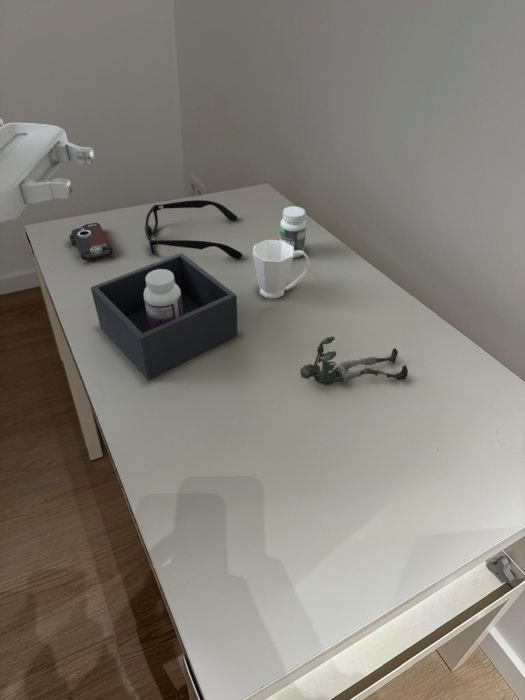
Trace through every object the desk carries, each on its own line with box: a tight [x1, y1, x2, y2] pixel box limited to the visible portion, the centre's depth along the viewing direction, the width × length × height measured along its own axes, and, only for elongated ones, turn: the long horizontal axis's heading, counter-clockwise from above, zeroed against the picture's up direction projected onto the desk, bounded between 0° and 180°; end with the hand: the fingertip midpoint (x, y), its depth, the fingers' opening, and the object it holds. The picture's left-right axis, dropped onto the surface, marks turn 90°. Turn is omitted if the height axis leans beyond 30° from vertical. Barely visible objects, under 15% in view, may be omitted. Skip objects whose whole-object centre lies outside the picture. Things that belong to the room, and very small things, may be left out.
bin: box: [90, 252, 238, 382], centre depth 77 cm, size 16×15×8 cm
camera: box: [68, 222, 114, 261], centre depth 97 cm, size 6×3×11 cm
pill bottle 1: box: [144, 269, 184, 330], centre depth 76 cm, size 5×5×10 cm
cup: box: [252, 239, 311, 300], centre depth 86 cm, size 7×10×8 cm
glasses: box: [144, 199, 244, 260], centre depth 99 cm, size 17×18×5 cm
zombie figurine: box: [299, 335, 409, 386], centre depth 71 cm, size 5×7×15 cm
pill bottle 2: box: [279, 205, 307, 259], centre depth 95 cm, size 5×5×8 cm
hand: (81, 171), depth 62 cm, fingers open, 8 cm apart
